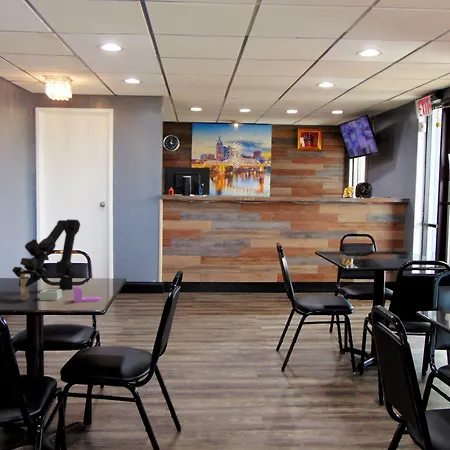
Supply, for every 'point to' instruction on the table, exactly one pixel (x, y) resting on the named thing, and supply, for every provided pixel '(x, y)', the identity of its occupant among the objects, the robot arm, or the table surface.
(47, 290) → the square frame
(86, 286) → the table surface
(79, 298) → the bracket
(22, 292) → the beige cylinder
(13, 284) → the table surface
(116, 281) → the table surface
